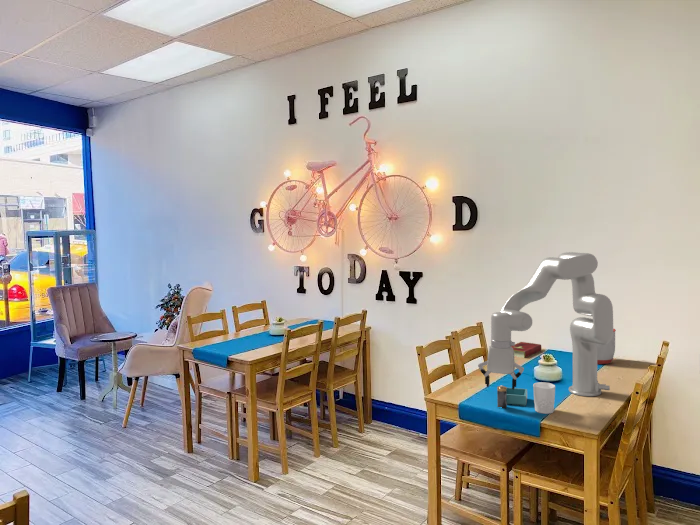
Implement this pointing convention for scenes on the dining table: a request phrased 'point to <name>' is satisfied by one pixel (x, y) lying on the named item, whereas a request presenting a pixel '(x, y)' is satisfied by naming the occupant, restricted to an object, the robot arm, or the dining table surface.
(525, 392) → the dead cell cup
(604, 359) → the citrus juicer
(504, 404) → the cell
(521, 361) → the dining table surface
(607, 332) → the robot arm
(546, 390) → the white cup
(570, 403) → the dining table surface
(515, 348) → the hardcover book
